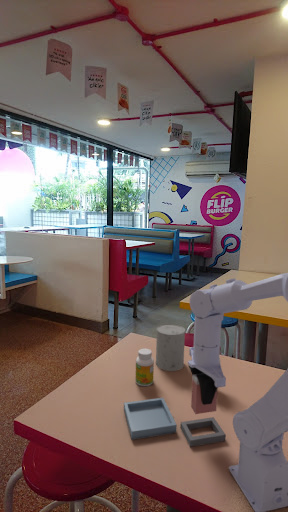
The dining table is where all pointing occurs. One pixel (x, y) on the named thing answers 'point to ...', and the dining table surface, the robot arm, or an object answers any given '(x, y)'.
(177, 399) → the dining table surface
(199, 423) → the grey rectangular frame
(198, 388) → the red and grey block
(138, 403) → the parts tray
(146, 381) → the supplement bottle
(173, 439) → the dining table surface
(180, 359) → the speckled stone cylinder
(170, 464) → the dining table surface
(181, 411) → the dining table surface
